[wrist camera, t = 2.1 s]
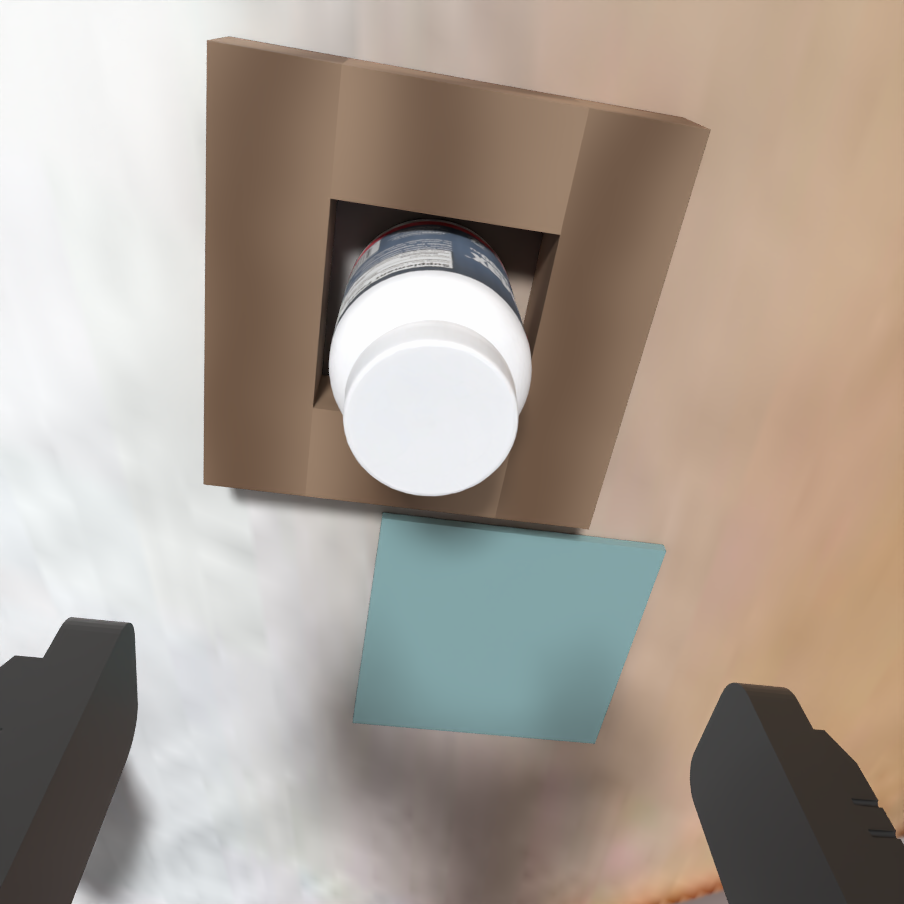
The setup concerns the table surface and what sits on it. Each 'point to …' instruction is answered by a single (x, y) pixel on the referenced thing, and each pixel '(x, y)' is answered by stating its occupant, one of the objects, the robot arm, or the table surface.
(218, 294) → the socket holder
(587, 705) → the teal pad
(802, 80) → the table surface
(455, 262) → the pill bottle
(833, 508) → the table surface
